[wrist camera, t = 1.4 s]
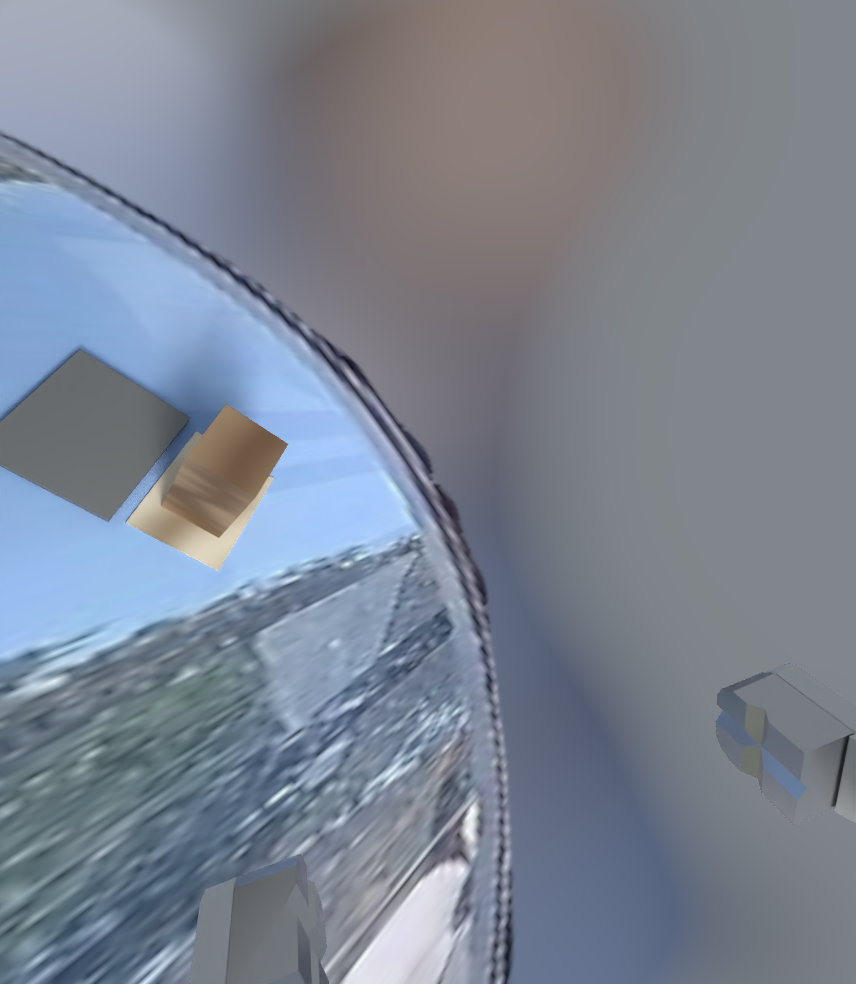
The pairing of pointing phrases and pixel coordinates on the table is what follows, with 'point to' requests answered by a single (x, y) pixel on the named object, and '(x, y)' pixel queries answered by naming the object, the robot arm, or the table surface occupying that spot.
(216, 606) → the table surface
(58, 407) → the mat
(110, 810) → the table surface
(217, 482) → the walnut block
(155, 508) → the placard
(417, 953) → the table surface
